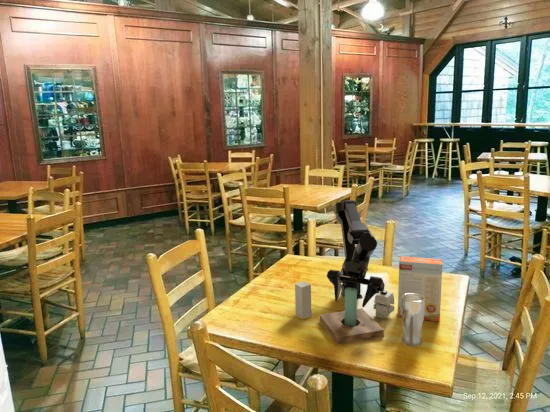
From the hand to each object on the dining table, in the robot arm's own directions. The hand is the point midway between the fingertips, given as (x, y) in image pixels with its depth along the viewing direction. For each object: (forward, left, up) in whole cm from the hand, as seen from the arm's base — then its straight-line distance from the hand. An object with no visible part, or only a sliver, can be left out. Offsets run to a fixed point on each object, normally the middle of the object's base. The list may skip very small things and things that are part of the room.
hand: (349, 304), depth 143 cm
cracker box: (-27, -2, -10) cm, 29 cm away
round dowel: (-1, -1, -10) cm, 10 cm away
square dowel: (+11, -15, -10) cm, 21 cm away
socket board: (-1, -1, -10) cm, 10 cm away
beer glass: (-16, +12, -10) cm, 22 cm away
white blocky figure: (-15, -5, -10) cm, 19 cm away
